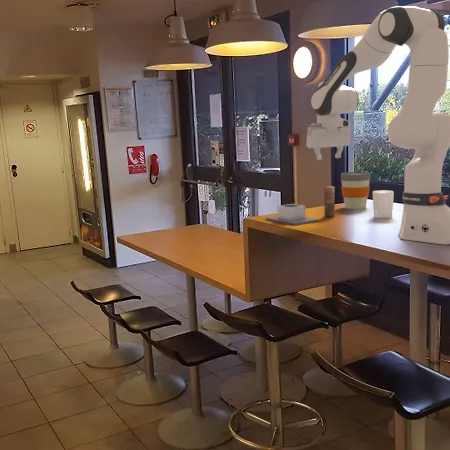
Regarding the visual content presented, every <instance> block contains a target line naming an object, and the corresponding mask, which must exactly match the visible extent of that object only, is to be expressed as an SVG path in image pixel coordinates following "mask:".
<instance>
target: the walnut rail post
mask: <svg viewBox="0 0 450 450" xmlns="http://www.w3.org/2000/svg"><path fill="white" fill-rule="evenodd" d="M323 192H324V194H323V195H324V199H323V200H324V201H323V202H324V204H323V206H324V207H323V208H324V213H323V214H324V218H326V217H327V218H328V219H330V218H331V217H333V218H335V217H336V216H335V213H336V212H335V210H336V209H335V208H336V207H335V201H336V200H335V195H336V194H335V186H333V185H331V186H324V187H323ZM331 219H332V218H331Z"/></svg>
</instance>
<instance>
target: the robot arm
mask: <svg viewBox="0 0 450 450" xmlns="http://www.w3.org/2000/svg"><path fill="white" fill-rule="evenodd" d="M445 27H446V22H445V18H444V16H443V14H441V13H440V12H439V11H436V10H434V9H430V8H429V9H426V8H422V7H421V8H420V7H418V6H401V5H399V6H392V7H389V8H386V9H385V10H383V11H381V12H380V13H379V14H378V15H377V16H376V18H375V19H374V20H373V21H372V22H371V24H370V25H369V26H368V28H367V29H366V31H365V32H364V35H363V36H362V37H361V39H360V40H359V41H358V43H356V44H355V46H354V47H353V48H352V49H350V50H349V52H347V53H346V54H344V56H342V57H341V58H340V60H339V61H338V62H337V64H336V65H335V66H334V68H333V69H331V72H330V73H329V74H328V76H327V77H326V78H325V79H324V80H322V81H321V82H319V83H318V86H317V87H316V89H315V90H314V91H313V93H312V95H311V97H310V107H311V108H312V110H313V111H314V112H315V114H316V123H310V125H309V126H308V127H307V134H306V143H305V144H306V147H307V148H308V149H314V150H313V151H314V153H315V155H316V160H318V161H321V160H323V154H322V153H321V149H324V148H335V147H336V149H337V150H336V153H335V154H334V155H335V156H334V157H335V159H340V158H342V152H343V150H344V147H349V146H350V145H351V142H352V133H351V129H350V127H351V121H350V120H348V119H345V118H342V117H341V114H343V115H344V114H352V113H354V112H355V111H356V110H357V108H358V105H359V101H360V98H359V97H360V96H359V93H358V91H357V90H356V89H355V88H354V87H349V86H347V85H344V84H345V83H346V82H347V80H348V79H349V78H351V77H352V76H353V75H356V74H358V73H362V72H365V71H369V70H373V69H377V68H379V67H380V66H382V65H383V64H384V63H385V62H386V61H387V60H388V59H389V58H390V56H391V54H392V53H393V52H394V49H395V48H396V46H400V47H402V46H404V45H406V46H407V47H408V48H409V49H410V59H409V72H408V81H407V83H408V84H407V91H406V95H405V98H404V101H403V103H402V106H401V108H400V109H399V112H398V113H397V114H396V115H395V116H394V117H393V118H392V119H391V121H390V122H389V124H388V126H387V138H388V140H389V142H390V143H391V144H392V145H393V146H394V147H396V148H401V149H405V150H406V149H407V150H413V149H415V151H414V154H413V157H412V159H411V160H410V161H409V162H408V163H407V164H406V165H405V167H404V177H403V178H404V179H403V180H404V181H403V182H404V183H403V184H404V186H403V189H404V191H402V205H403V210H402V218H401V224H400V228H399V230H398V236H399V239H400V240H405V241H415V242H421V243H428V244H436V245H443V246H444V245H450V207H449V206H448V205H447V204H446V203H447V201H446V200H448V199H449V194H448V195H444V193H443V192H442V174H443V173H442V171H443V166H444V161H445V159H446V155H447V152H448V150H449V148H450V114H449V113H446V112H441V111H435V107H436V105H437V103H438V102H439V100H440V99H441V98H442V97H443V96H444V95H445V93H446V91H447V82H448V71H449V56H450V55H449V41H448V35H447V33H446V30H445Z"/></svg>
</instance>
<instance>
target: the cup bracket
mask: <svg viewBox="0 0 450 450" xmlns="http://www.w3.org/2000/svg"><path fill="white" fill-rule="evenodd" d="M265 220H266V221H269V222H275V223H280V224H284V223H285V224H284V225H289V224H290V226H299V225H300V226H301V225H305V224H312V223H318V221H319V219H318V218H313V217H309V216H308V217H307V216H306V205H303V204H302V205H301V204H296V203H291V204H290V203H289V204H282V205H277V215H275V216H269V217H265Z"/></svg>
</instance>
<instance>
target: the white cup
mask: <svg viewBox="0 0 450 450" xmlns="http://www.w3.org/2000/svg"><path fill="white" fill-rule="evenodd" d="M394 195H395V192H394V191H393V190H387V189H386V190H385V189H384V190H383V189H382V190H380V189H379V190H373V191H372V206H373V208H372V209H373V217H374V218H376V219H390V218H392V217H393V210H394Z"/></svg>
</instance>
